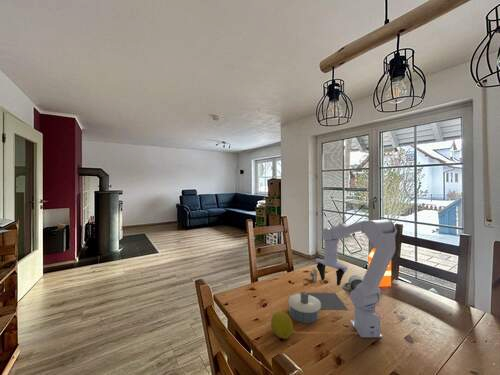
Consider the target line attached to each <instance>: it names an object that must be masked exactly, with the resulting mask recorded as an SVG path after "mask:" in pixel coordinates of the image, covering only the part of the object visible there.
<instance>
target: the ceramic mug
mask: <svg viewBox="0 0 500 375" xmlns="http://www.w3.org/2000/svg"><path fill="white" fill-rule="evenodd" d="M362 281H363V278H362V277H361V276H359V275H357V274H353V275H351V276H350V277H349V279H348V282H346V283H343V284H342V289H343V290H345V291H349V290H350V292H351V291H352V290H354V289H355V287H356V286H357V285H358V284H360V283H361V282H362Z"/></svg>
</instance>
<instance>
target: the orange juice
mask: <svg viewBox="0 0 500 375" xmlns="http://www.w3.org/2000/svg"><path fill="white" fill-rule="evenodd" d="M375 250H376V248H372V249H371V251H370V252H369V254H368V256H367V268H368V267H369V264H370V262H371V260H372V257H373V255H374V253H375ZM391 286H392V260H391V261H390V263H389V265H388V268H387V270H386V272H385V274H384V276H383V278H382V280H381V283H380V285H379V288H381V287H391Z"/></svg>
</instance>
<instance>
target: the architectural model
mask: <svg viewBox="0 0 500 375" xmlns="http://www.w3.org/2000/svg"><path fill="white" fill-rule="evenodd" d="M307 274H308V276H309V277H310V278H311V279H312V281H313V282H314V283H316V282H317V283H318V269H316V267H315V266H313V267H312V268H311V271H309V272H307Z"/></svg>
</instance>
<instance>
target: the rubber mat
mask: <svg viewBox="0 0 500 375" xmlns="http://www.w3.org/2000/svg"><path fill="white" fill-rule="evenodd" d="M307 293H308V295H311V296H313V297H315V298H317V299H318V300H319V301H320V302H321V308H320V310H319V311H323V310H324V311H331V310H332V311H348V310H349V309H348V308H347V306H346V305H345V304H344V302H343V301H342V300H341V299H340V298H339V296H338V294H337V293H335V292H307Z"/></svg>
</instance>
